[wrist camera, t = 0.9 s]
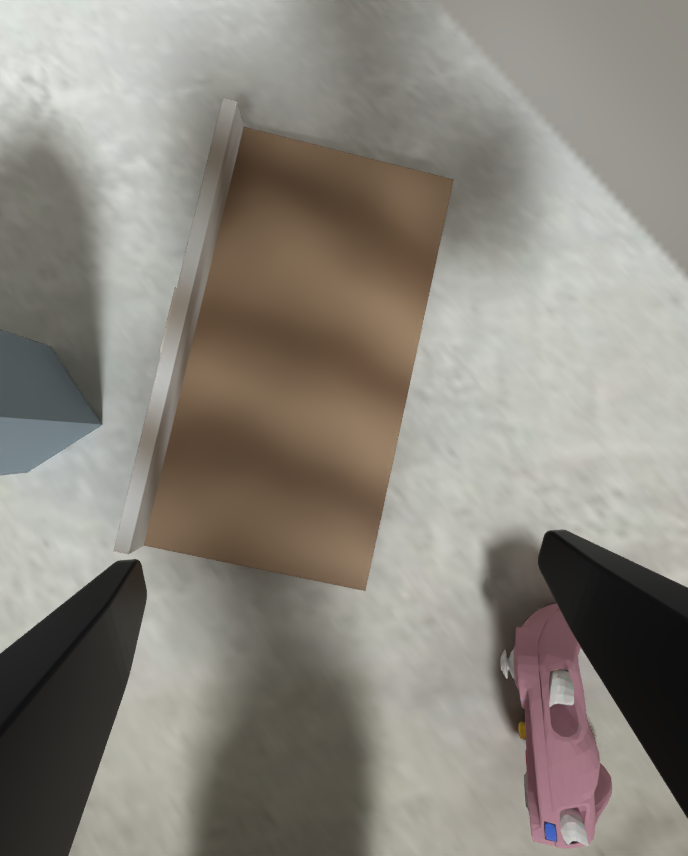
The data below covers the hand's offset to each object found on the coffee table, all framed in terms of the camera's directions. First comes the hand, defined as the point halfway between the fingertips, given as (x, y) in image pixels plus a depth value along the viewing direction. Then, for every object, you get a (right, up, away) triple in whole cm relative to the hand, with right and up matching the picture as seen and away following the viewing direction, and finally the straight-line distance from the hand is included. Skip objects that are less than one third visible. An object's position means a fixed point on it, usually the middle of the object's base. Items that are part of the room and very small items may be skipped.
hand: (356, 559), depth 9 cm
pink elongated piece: (+10, -11, +14) cm, 21 cm away
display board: (-3, +7, +13) cm, 15 cm away
